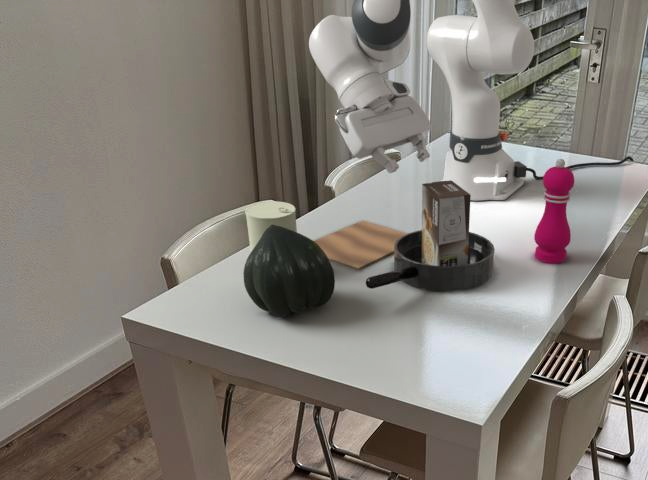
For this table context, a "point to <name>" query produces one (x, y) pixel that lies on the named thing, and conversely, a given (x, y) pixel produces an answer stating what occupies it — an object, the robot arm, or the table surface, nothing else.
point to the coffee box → (445, 224)
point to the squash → (288, 272)
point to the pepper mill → (554, 215)
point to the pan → (445, 276)
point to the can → (268, 218)
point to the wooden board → (359, 244)
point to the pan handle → (391, 277)
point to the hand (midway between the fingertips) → (410, 165)
